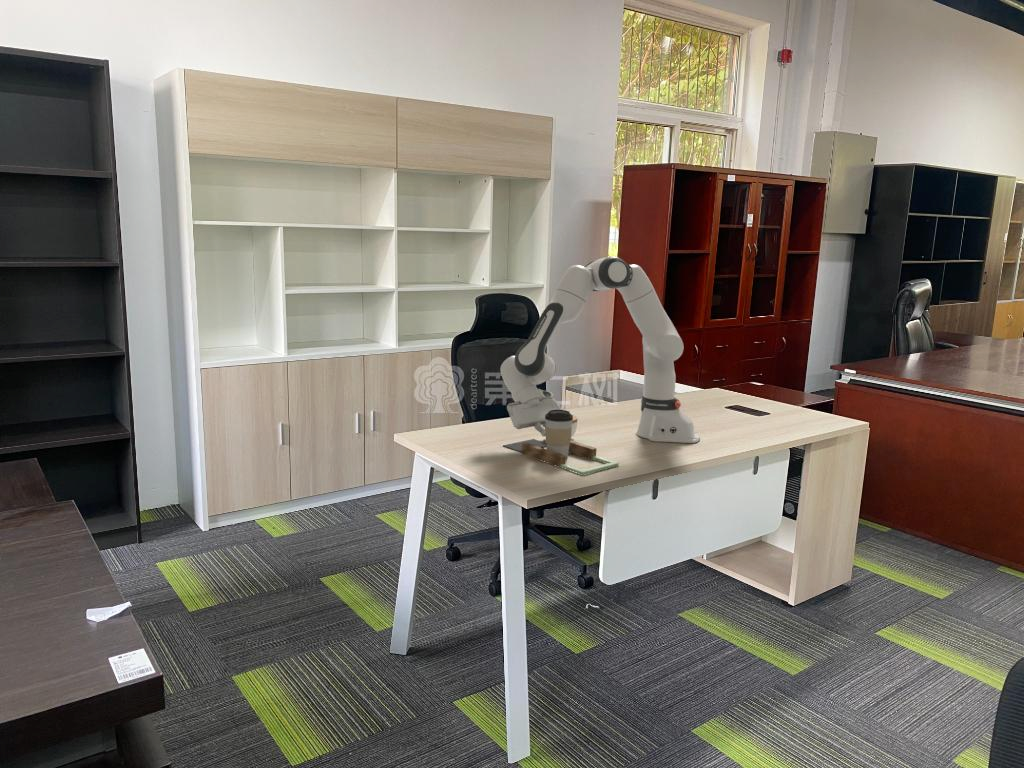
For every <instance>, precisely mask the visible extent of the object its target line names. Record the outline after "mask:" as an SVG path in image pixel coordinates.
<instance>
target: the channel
mask: <svg viewBox="0 0 1024 768" xmlns="http://www.w3.org/2000/svg"><path fill="white" fill-rule="evenodd" d="M569 452H571V453H570V454H572V453H574V454H573V455H575V454H576V456H578V455H579V456H578V457H582V458H585V457H586V458H585V459H588V458H589V459H588V460H591V459H593V456H597V447H593V446H590V445H587V444H584V443H581V442H577V441H574V440H571V439H570V445H569ZM569 452H568V453H569ZM521 455H523V456H525V457H530V458H532V459H534V458H535V459H534V460H537V459H538V460H537V461H540V460H542V461H541V462H543V461H545V462H544V463H546V462H548V463H547V464H549V463H550V464H549V465H552V464H553V465H552V466H554V465H556V466H555V467H557V466H559V467H558V468H560V467H561V464H566V459H567V458H566V456H565V455H562V454H559V453H556V452H553V451H550V450H547V448H545V447H543V448H541V447H538V446H535V445H532V444H529V443H523V444H522V452H521Z"/></svg>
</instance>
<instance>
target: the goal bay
mask: <svg viewBox="0 0 1024 768" xmlns="http://www.w3.org/2000/svg"><path fill="white" fill-rule="evenodd" d="M593 459H595V460H594V461H596V460H598V461H597V462H599V461H601V462H600V463H602V462H605V463H608V464H605V463H604V464H601V465H598V466H594V467H590V468H586V469H580V468H577V467H575V466H572V465H568V464H567V463H565V464H561V467H563V468H566V469H568V470H571V471H574V472H577V473H579V474H578V475H580V474H582V475H581V476H585V475H584V474H587V475H589V474H588V473H591V474H593V473H592V472H594V473H597V472H596V471H598V472H600V471H599V470H602V471H604V470H603V469H605V470H607V469H606V468H609V469H611V468H610V467H613V468H615V467H614V466H616V467H619V462H616V461H615V460H611V459H607V458H604V457H601V456H599V455H596V456H593ZM563 468H562V469H563ZM566 469H565V470H566ZM568 470H567V471H568ZM571 471H570V472H571ZM574 472H573V473H574ZM577 473H576V474H577Z"/></svg>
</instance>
